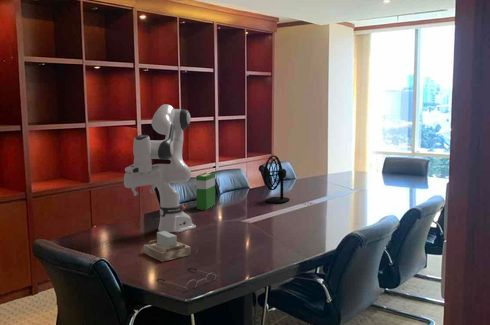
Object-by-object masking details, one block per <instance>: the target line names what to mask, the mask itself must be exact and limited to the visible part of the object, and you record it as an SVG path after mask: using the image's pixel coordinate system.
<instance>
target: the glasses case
mask: <svg viewBox="0 0 490 325" xmlns="http://www.w3.org/2000/svg"><path fill="white" fill-rule="evenodd" d="M156 240H157V244H158V245H160V246H162V247H164V248H170V247H174V246H177V242H178V236H177V235H175V234H173V233H172V232H166V231H157V232H156Z"/></svg>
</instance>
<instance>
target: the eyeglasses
mask: <svg viewBox="0 0 490 325" xmlns="http://www.w3.org/2000/svg"><path fill="white" fill-rule="evenodd" d="M190 270H195V271H198V272H202V273H206V274H207V275H206V276H205V278H202V279H199V280H196V279H194V281H195V282H196V283H195V284H196V285H195V286H194V288H195V289H196V288H197V286H198V283H200V282H202V281H204V280H205V283H207V284H208V283H209V282H208V280H207V278H208V276H209V275H212V276H214V279H213V281H216V278H217V276H218V275H217V274H216V273H215V272H213V273H212V272H210V273H209V272H208V273H207V272H206V271H203V270H199V269H196V268H193V267H189V268H187V271H190ZM156 281H163V282H167V283H170V284H172V285H176V286H179V287H183V288H184V289H186V290H187V291H189V289H188V284H189V283H191V282H192V281H193V279H191V280H189V281H187V283H186V285H185V286H183V285H179V284H177V283H174V282H171V281H167V280H166V279H163V278H157V279H156Z"/></svg>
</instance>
